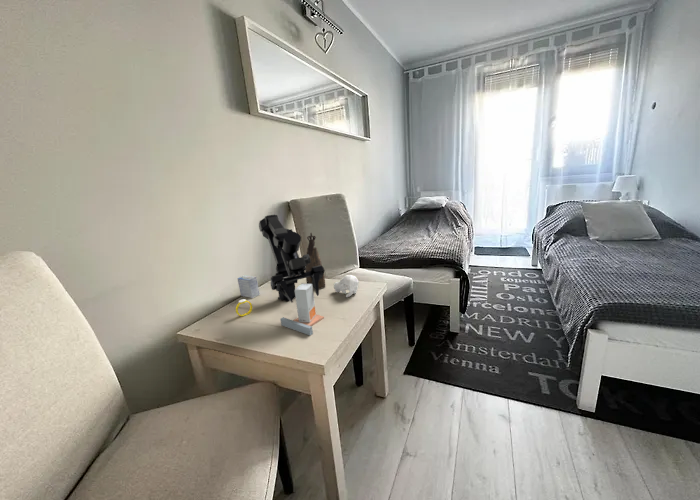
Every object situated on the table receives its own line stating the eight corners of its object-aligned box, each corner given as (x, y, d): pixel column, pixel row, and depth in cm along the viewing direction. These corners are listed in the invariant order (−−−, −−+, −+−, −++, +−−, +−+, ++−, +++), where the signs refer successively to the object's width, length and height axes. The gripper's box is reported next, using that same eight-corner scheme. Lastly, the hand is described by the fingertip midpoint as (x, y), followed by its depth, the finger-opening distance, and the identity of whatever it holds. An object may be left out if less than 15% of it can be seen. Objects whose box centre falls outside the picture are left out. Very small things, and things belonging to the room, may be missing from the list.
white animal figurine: (348, 278, 114) (327, 276, 122) (352, 298, 116) (331, 295, 124) (358, 273, 119) (337, 272, 127) (362, 293, 120) (340, 290, 128)
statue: (325, 282, 138) (318, 231, 131) (325, 288, 131) (318, 234, 124) (307, 284, 137) (299, 233, 130) (306, 291, 130) (298, 237, 123)
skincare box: (310, 323, 98) (305, 289, 95) (298, 322, 99) (293, 289, 96) (316, 314, 104) (312, 283, 101) (305, 314, 105) (301, 283, 102)
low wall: (284, 323, 101) (283, 317, 100) (312, 333, 92) (311, 326, 92) (281, 325, 100) (280, 318, 99) (310, 335, 91) (309, 328, 91)
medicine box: (260, 294, 130) (256, 276, 128) (252, 298, 127) (248, 279, 125) (248, 292, 135) (245, 274, 133) (240, 296, 131) (236, 278, 129)
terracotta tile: (308, 313, 107) (307, 312, 107) (324, 318, 102) (324, 316, 102) (291, 322, 101) (291, 321, 101) (307, 328, 96) (307, 326, 96)
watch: (239, 319, 108) (235, 305, 107) (236, 317, 110) (232, 303, 109) (254, 312, 112) (250, 298, 111) (251, 310, 114) (247, 296, 113)
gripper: (266, 253, 96) (279, 295, 89) (319, 243, 103) (335, 280, 96) (265, 270, 104) (277, 309, 97) (314, 259, 112) (328, 295, 105)
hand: (305, 298), depth 99 cm, fingers open, 9 cm apart
